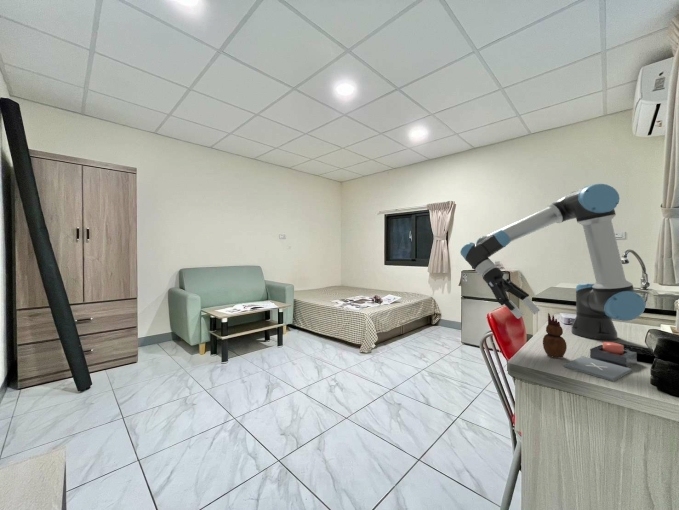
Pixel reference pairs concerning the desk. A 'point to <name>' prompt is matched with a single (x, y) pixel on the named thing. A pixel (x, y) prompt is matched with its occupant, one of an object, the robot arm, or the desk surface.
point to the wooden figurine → (554, 339)
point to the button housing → (614, 357)
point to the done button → (613, 348)
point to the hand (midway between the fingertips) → (529, 314)
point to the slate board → (597, 368)
